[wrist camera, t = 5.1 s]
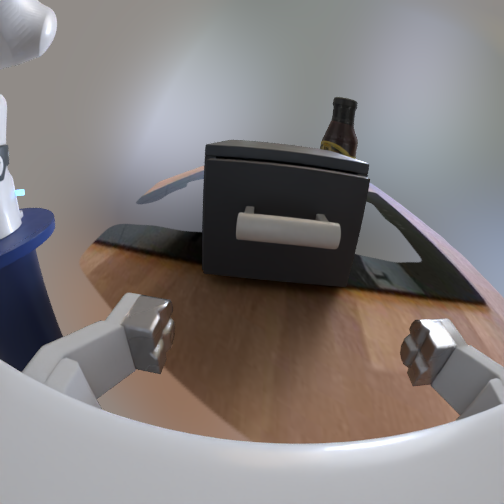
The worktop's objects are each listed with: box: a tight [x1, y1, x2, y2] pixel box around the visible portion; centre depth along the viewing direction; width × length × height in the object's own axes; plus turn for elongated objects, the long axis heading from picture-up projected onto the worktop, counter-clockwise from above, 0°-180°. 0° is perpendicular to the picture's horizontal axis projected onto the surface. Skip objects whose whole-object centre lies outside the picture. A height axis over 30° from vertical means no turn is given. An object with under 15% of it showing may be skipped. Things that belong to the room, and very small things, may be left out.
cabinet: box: [202, 140, 369, 270], centre depth 28 cm, size 15×13×11 cm
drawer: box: [203, 157, 370, 287], centre depth 24 cm, size 18×12×9 cm, turn 177°
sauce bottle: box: [320, 97, 358, 159], centre depth 43 cm, size 6×6×20 cm
